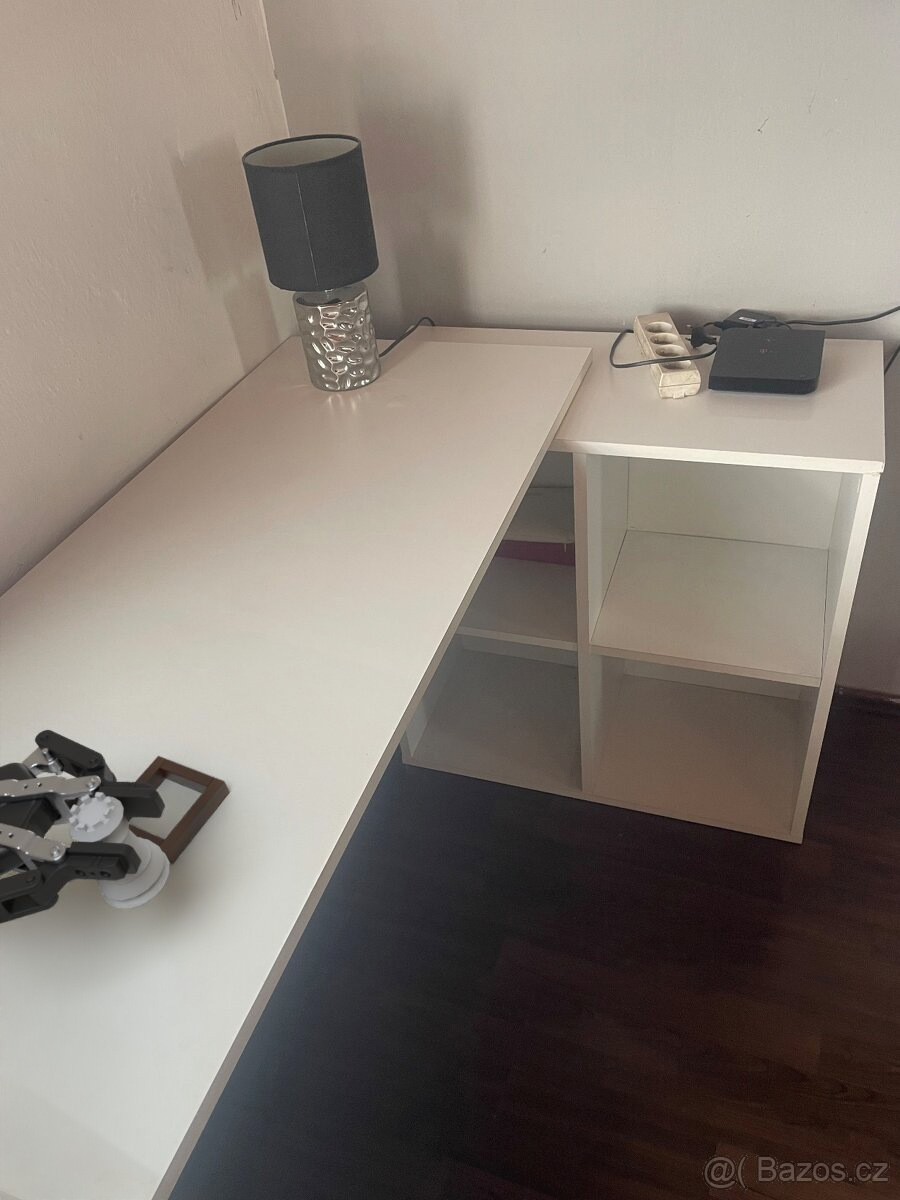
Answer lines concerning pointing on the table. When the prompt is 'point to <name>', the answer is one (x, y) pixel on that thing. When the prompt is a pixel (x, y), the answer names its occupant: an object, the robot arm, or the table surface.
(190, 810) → the holder collar
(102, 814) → the rook chess piece
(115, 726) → the table surface
